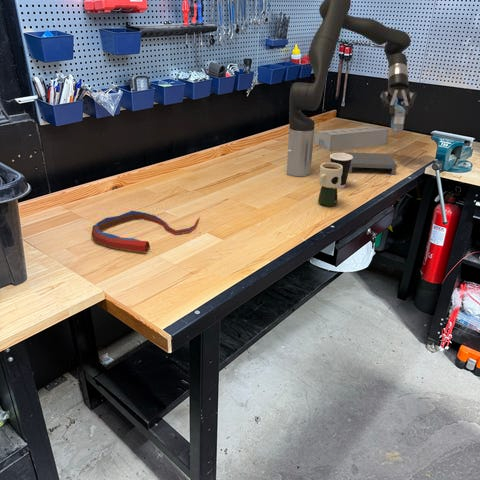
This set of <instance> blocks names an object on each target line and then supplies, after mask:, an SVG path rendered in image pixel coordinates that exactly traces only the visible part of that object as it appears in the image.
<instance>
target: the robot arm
mask: <svg viewBox="0 0 480 480" xmlns="http://www.w3.org/2000/svg"><path fill="white" fill-rule="evenodd" d="M351 5H352V0H323V1H322V3H321V4H320V6H319V8H318V9H319V11H318V12H319V16H320V17H321V19H322V20H323V21H322V22H321V24H320V25H319V27H318V29H317V30H316V32H315V34H314V36H313V38H312V41H311V44H310V46H309V48H308V52H307V59H308V62H309V64H310V67H311V69H312V71H313V74H314V77H315V79H314V81H313V82H312V83H310V82H299V81H298V82H294V83H292V84H291V87H290V90H289V112H288V115H289V116H288V122H289V123H288V125H289V127H288V144H287V157H286V175H289V176H293V177H306V176H309V175H310V174H311V171H312V170H311V169H312V161H313V160H312V157H313V148H314V135H315V126H316V122H315V121H314V120H313V118H310V117H309V116H307V115H306V114H304V113H303V112H302V111H312V112H313V111H316V110H318V108H319V106H320V104H321V101H322V98H323V93H324V89H325V85H326V79H327V76H328V73H329V70H330V68H331V64H332V61H333V58H334V54H335V53H336V49H337V44H338V41H339V38H340V35H341V32H342V29H344V30H347V31H350V32H353V33H355V34H358V35H360V36H362V37H364V38H366V39H367V40H369V41H371V42H372V43H374V44H375V45H380V46H382V45H384V44H385V46H384V48H383V50H384V54H385V56H386V60H387V62H388V63H387V64H388V73H387V84H388V85H387V91H381V92H380V93H381V94H380V99H381V102H382V103H383V107H384V108H388V109H389V115H390V116H391V118H392V117H394V102H395V103H396V100H395V99H396V98H397V99H398V101H397V103H399V102H400V104H401V106H402V107H403V108H404V109H405V117H404V118H406V117H407V116H408V115H409V109H411V108H412V107H413V105H414V102H415V100H416V97H417V95H418V93H417V92H416V91H414V92H412V91H410V89H409V71H408V60H407V59H408V58H407V56H406V54H405V53H403V52H404V51H405V50H407V49H408V48H409V47H410V45H411V44H412V43H411V42H412V41H411V40H412V39H411V36H410V35H409V34H408V33H407V32H406V31H404V30H400V29H398V28H397V29H396V28H393V27H388V26H386V25H384V24H383V23H381V22H380V21H377V20H376V19H374V18H369V17H359V16H353V15H349V11H350V9H351ZM388 97H389V99H390V100H391V101H390V102H389V99H388ZM408 97H409V99H410V101H409V102H408Z"/></svg>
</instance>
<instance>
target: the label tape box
mask: <svg viewBox="0 0 480 480" xmlns="http://www.w3.org/2000/svg"><path fill="white" fill-rule="evenodd" d="M395 100H396V102H394V117H391V121H390V128H391V131H392V133H403V132H404V125H405V124H404V123H405V118H406V117H405V109H404V108H403V105H400V104H398V102H397V101H398V99H397V98H396V99H395Z"/></svg>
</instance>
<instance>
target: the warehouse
mask: <svg viewBox="0 0 480 480" xmlns="http://www.w3.org/2000/svg"><path fill="white" fill-rule="evenodd" d="M388 135H389V129H386V128H380V127H378V126H377V127H376V126H360V127H359V126H357V127H349V128H338V129H337V128H336V129H329V130H319V131H316V130H315V131H314V138H313V144H315V145H317V146H320V147H322V148H323V149H325V150H327V151H328V152H336V151H344V150H345V151H346V150H354V149H362V148H372V147H380V146H386V145H387V140H388V137H389V136H388Z"/></svg>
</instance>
